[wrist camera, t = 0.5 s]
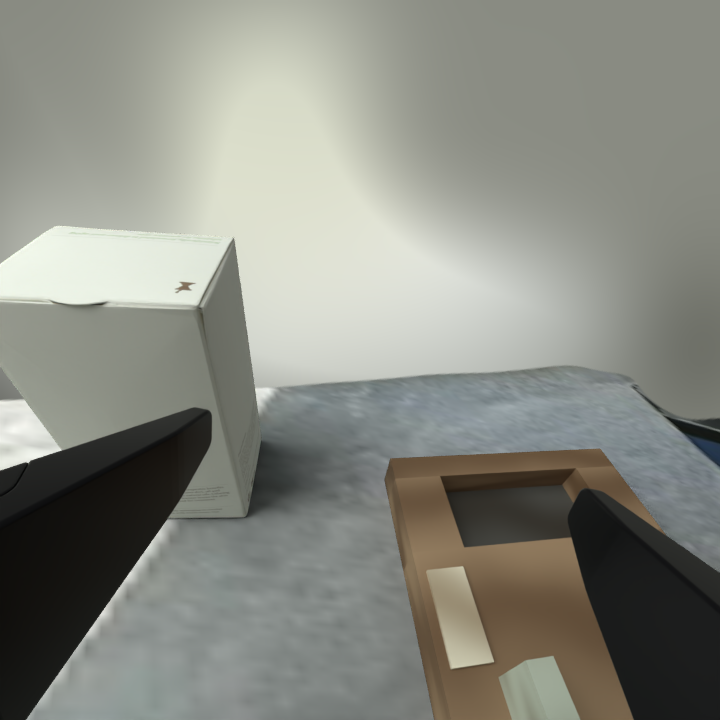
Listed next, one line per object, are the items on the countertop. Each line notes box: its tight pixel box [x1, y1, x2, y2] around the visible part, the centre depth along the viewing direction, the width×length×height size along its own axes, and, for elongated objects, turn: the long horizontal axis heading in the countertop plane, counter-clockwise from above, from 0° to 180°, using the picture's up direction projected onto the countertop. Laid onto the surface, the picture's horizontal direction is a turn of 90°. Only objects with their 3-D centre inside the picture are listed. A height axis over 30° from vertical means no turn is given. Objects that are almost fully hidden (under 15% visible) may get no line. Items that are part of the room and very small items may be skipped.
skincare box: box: [0, 226, 262, 518], centre depth 19 cm, size 8×7×16 cm
